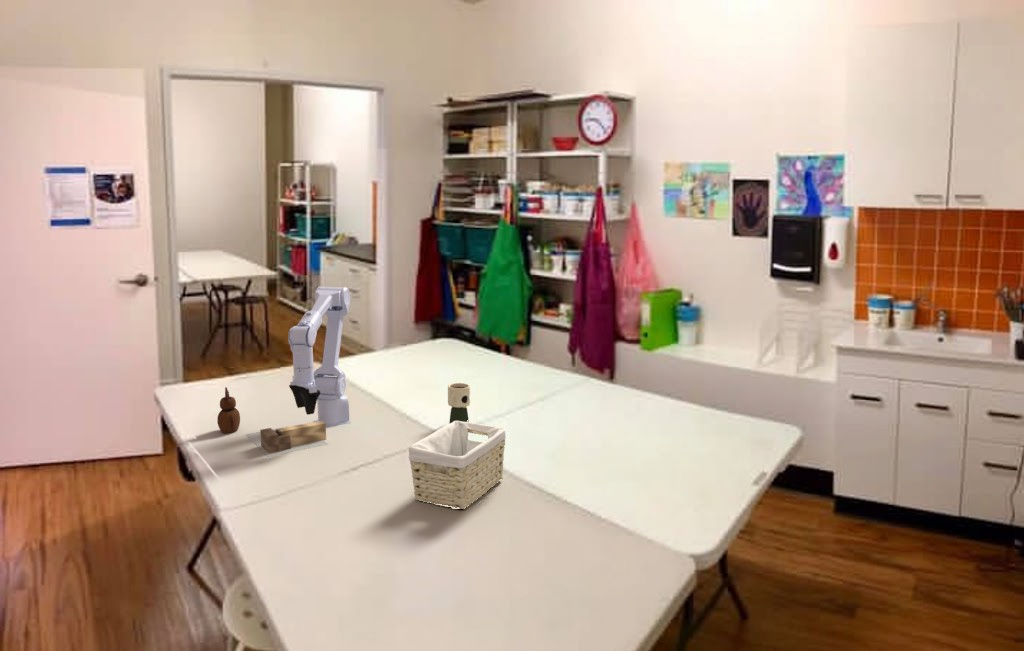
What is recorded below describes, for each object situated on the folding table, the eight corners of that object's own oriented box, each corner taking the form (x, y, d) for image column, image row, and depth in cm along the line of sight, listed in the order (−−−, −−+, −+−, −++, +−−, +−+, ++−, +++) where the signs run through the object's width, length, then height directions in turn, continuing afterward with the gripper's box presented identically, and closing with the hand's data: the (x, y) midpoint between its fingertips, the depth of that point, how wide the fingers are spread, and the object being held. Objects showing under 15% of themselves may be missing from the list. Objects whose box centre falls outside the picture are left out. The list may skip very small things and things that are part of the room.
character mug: (461, 431, 248) (461, 391, 245) (441, 428, 250) (441, 388, 248) (476, 421, 258) (476, 382, 255) (456, 418, 260) (456, 380, 258)
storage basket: (462, 515, 189) (462, 457, 186) (406, 502, 196) (404, 446, 193) (508, 480, 210) (508, 427, 207) (455, 470, 217) (455, 418, 214)
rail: (322, 436, 241) (321, 420, 240) (326, 439, 239) (325, 423, 238) (277, 445, 233) (276, 429, 232) (280, 448, 231) (279, 431, 230)
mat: (302, 425, 252) (302, 424, 252) (328, 445, 235) (328, 444, 235) (245, 435, 242) (245, 434, 242) (268, 457, 225) (268, 456, 225)
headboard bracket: (283, 441, 236) (282, 425, 235) (291, 448, 231) (290, 432, 230) (261, 445, 233) (260, 429, 232) (268, 453, 227) (267, 436, 226)
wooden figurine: (232, 436, 242) (229, 389, 239) (215, 435, 243) (211, 388, 240) (244, 429, 248) (241, 383, 245) (227, 428, 249) (224, 382, 246)
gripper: (281, 362, 236) (284, 406, 239) (298, 373, 225) (301, 419, 227) (304, 359, 240) (306, 402, 243) (322, 370, 229) (324, 415, 231)
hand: (305, 410), depth 236 cm, fingers open, 7 cm apart
